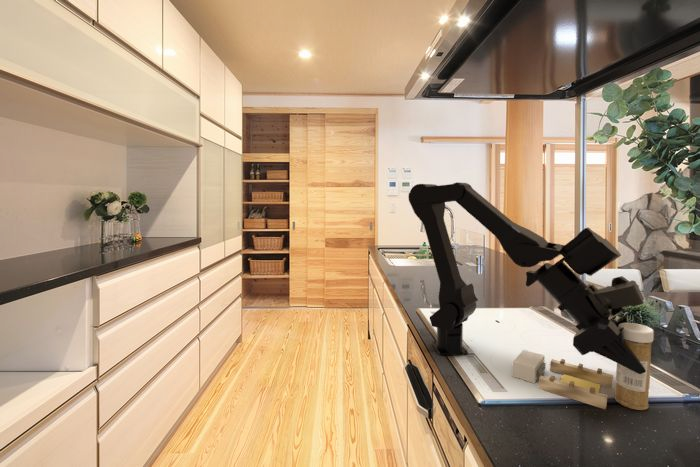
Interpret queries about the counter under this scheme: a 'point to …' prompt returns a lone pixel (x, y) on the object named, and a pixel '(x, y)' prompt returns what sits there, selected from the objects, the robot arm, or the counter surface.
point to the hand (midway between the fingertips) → (643, 367)
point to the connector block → (528, 366)
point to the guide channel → (575, 391)
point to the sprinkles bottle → (628, 382)
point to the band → (580, 382)
